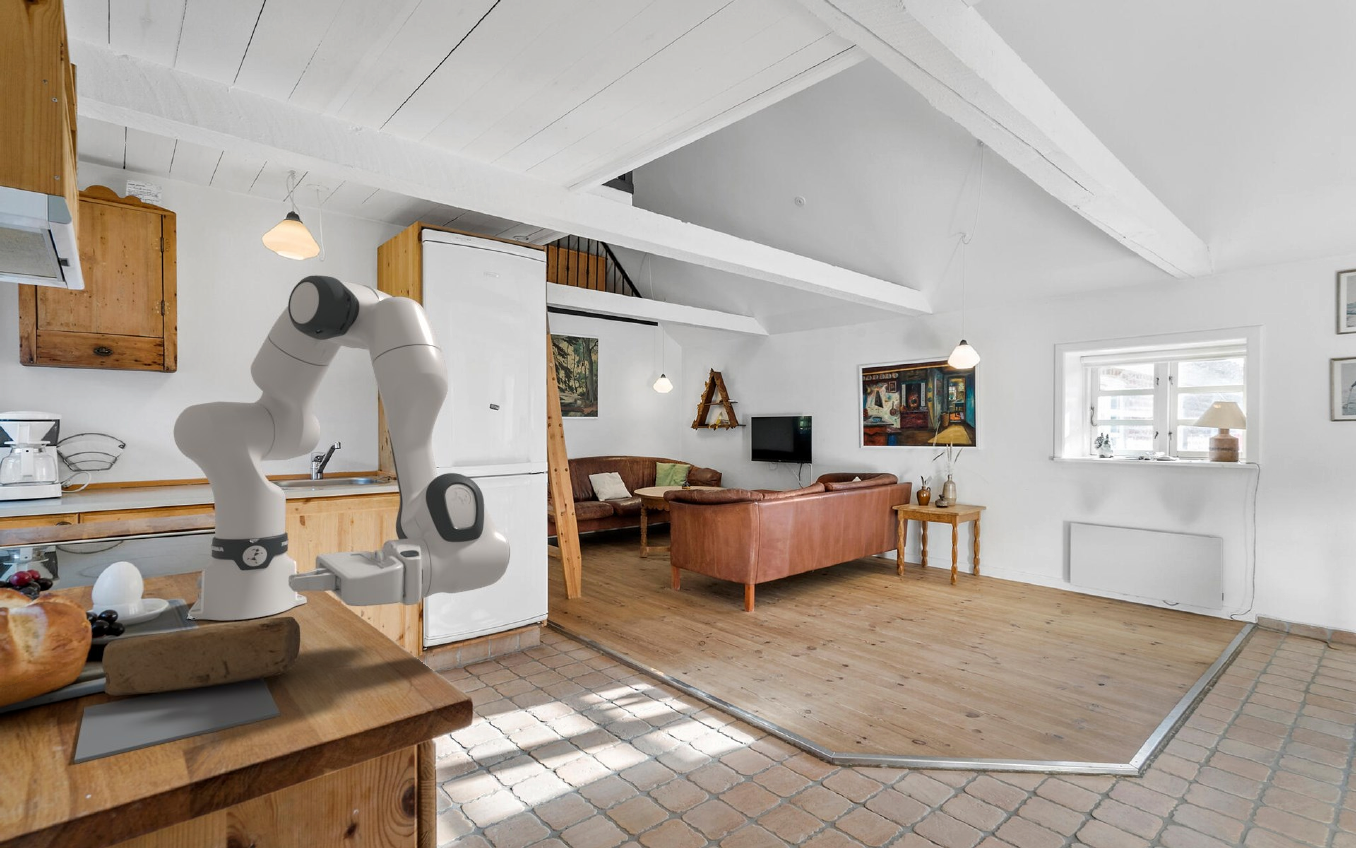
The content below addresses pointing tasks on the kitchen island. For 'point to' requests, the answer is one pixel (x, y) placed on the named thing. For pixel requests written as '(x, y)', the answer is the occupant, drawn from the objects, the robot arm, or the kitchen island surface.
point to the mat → (171, 717)
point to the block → (201, 656)
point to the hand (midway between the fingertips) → (290, 583)
